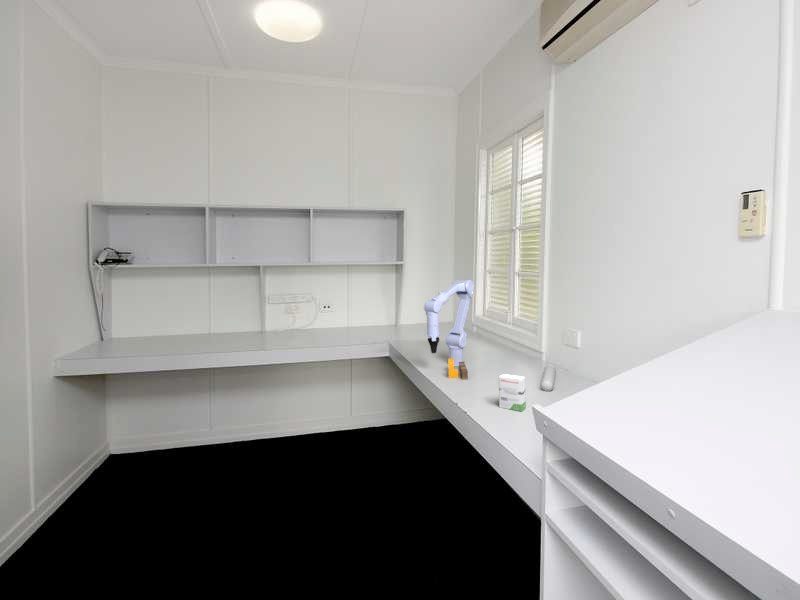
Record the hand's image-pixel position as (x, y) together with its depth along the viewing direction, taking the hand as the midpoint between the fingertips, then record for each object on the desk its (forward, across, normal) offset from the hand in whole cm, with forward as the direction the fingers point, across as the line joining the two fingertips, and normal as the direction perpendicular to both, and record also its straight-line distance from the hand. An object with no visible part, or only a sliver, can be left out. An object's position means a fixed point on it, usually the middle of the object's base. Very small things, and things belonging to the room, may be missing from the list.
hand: (433, 352), depth 197 cm
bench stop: (+9, +6, +13) cm, 17 cm away
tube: (+10, +21, +48) cm, 54 cm away
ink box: (+10, +49, +26) cm, 56 cm away
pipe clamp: (+10, +5, +9) cm, 14 cm away
